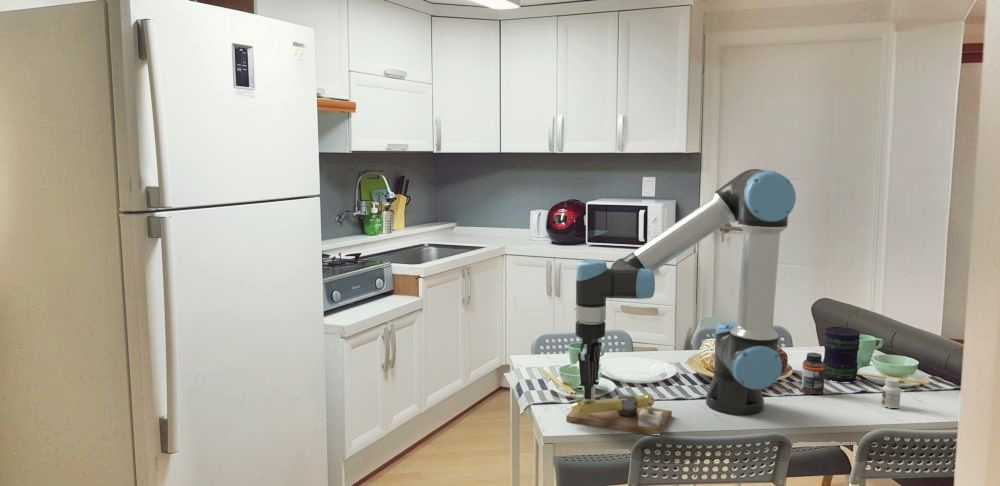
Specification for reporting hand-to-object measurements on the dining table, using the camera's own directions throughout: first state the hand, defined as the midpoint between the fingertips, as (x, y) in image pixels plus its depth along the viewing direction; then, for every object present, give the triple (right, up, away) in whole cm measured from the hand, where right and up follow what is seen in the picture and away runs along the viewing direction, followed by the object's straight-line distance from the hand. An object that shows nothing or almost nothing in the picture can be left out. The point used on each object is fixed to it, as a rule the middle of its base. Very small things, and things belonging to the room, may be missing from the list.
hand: (588, 409), depth 200 cm
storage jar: (+80, +2, +36) cm, 88 cm away
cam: (+6, -1, -1) cm, 6 cm away
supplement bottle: (+67, 0, +23) cm, 71 cm away
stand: (+8, -3, +1) cm, 9 cm away
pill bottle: (+84, -2, +12) cm, 85 cm away
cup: (+1, 0, +25) cm, 25 cm away
